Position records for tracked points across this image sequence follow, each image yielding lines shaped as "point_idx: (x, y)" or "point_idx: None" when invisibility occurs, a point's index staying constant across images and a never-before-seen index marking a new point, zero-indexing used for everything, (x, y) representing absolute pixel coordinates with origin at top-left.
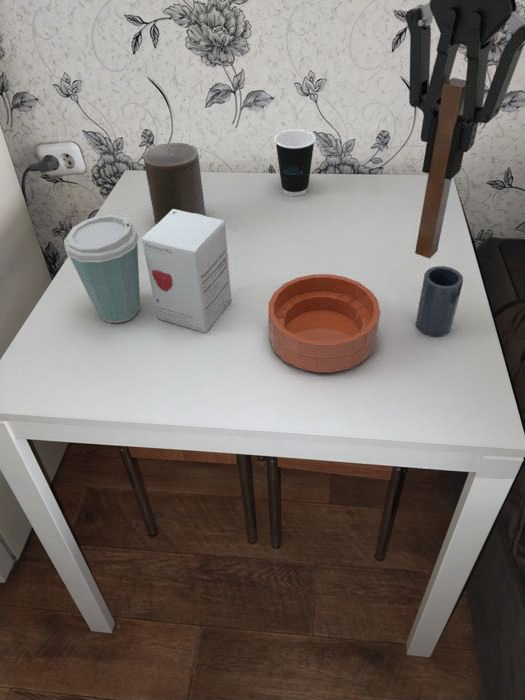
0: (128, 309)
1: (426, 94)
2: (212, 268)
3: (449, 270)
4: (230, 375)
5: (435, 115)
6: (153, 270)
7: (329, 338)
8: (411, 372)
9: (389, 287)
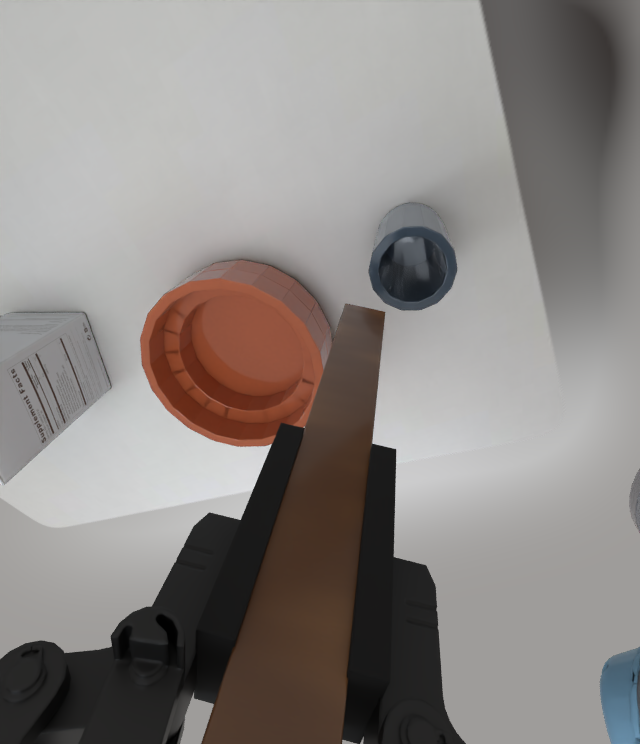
0: None
1: (51, 739)
2: (35, 410)
3: (420, 236)
4: (188, 438)
5: (199, 678)
6: None
7: (263, 349)
8: (401, 359)
9: (295, 151)
